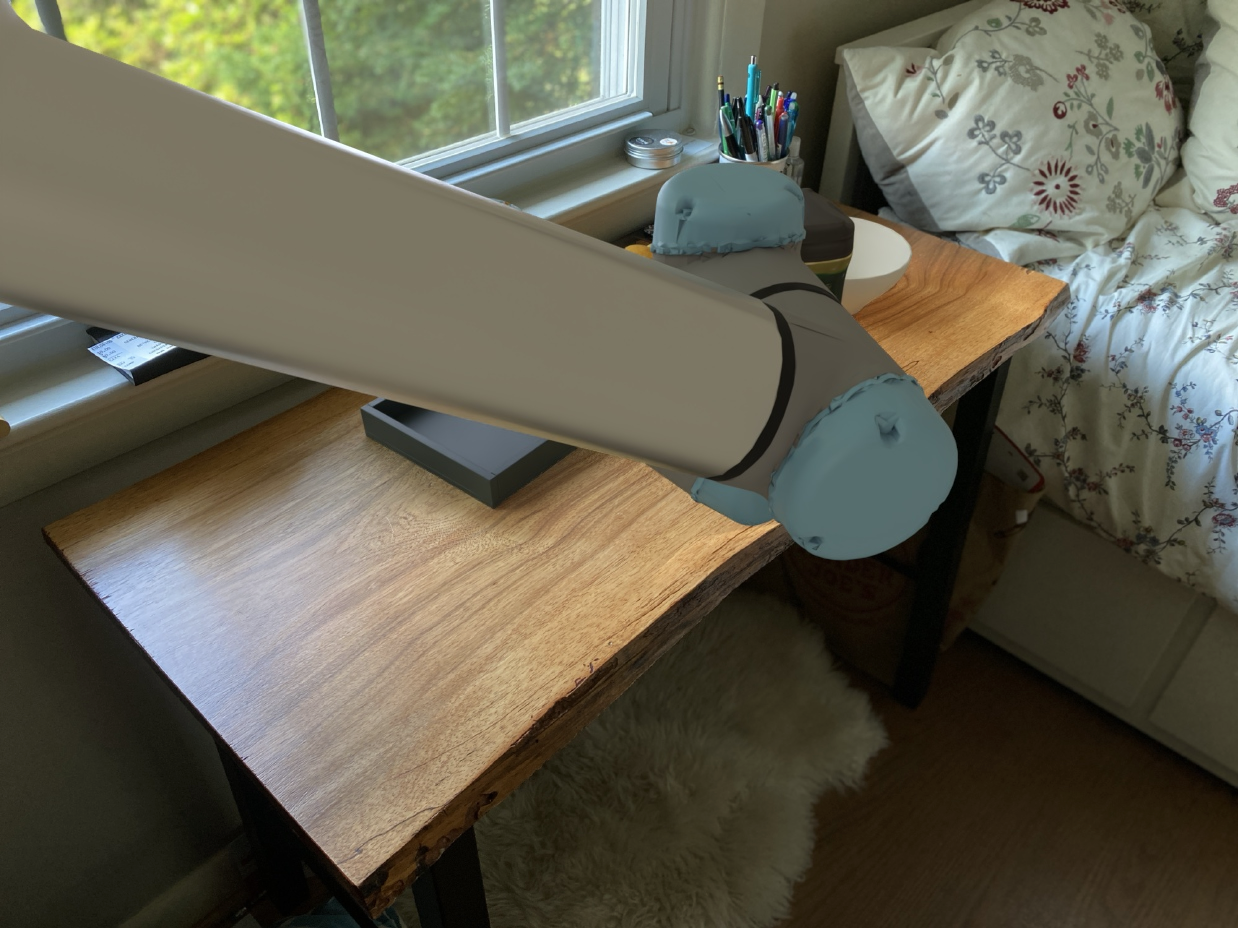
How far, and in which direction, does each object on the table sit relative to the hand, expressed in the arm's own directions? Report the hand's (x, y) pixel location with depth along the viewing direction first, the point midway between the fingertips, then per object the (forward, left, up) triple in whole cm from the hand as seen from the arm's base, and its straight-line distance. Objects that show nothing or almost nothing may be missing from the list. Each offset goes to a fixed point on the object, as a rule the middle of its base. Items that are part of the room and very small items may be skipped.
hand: (420, 258), depth 74 cm
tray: (+5, +2, -18) cm, 19 cm away
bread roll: (+26, +28, -18) cm, 42 cm away
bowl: (+44, +18, -18) cm, 51 cm away
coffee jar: (+34, +4, -18) cm, 39 cm away
